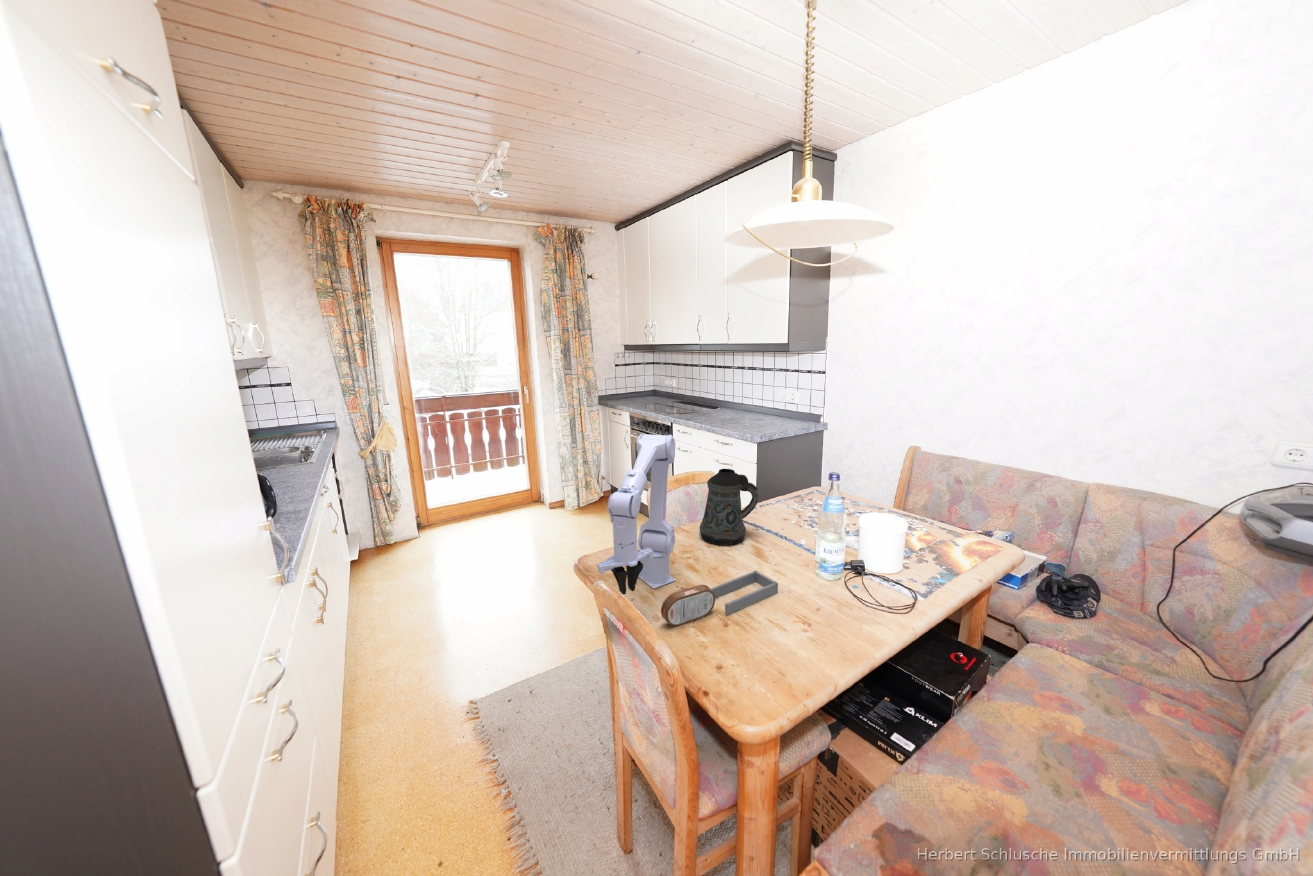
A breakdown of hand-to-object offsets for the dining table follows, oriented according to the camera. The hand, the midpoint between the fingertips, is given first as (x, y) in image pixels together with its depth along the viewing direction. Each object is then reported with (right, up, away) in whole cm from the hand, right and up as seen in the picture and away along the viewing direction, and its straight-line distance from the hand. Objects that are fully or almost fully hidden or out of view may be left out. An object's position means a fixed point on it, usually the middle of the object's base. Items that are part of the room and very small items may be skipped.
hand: (627, 590), depth 113 cm
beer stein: (+32, +2, +52) cm, 61 cm away
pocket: (+31, -6, +14) cm, 34 cm away
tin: (+16, -9, +4) cm, 18 cm away
